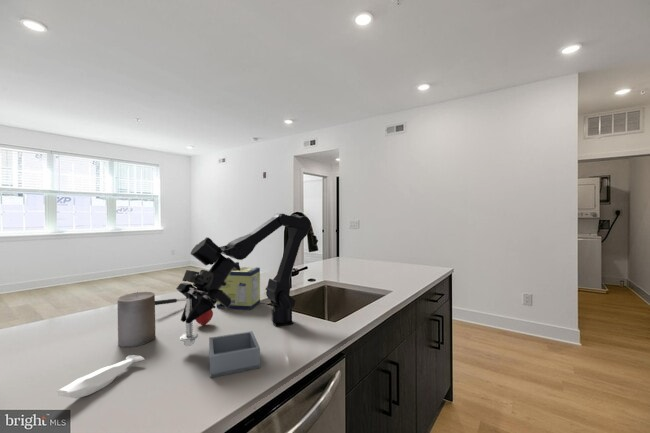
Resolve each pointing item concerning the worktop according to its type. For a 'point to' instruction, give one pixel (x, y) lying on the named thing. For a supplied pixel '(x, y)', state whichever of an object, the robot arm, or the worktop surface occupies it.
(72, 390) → the white fish figurine
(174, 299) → the frying pan
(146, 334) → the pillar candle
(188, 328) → the screw
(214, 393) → the worktop surface
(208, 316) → the pomegranate
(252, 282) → the protein box
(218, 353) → the tote
